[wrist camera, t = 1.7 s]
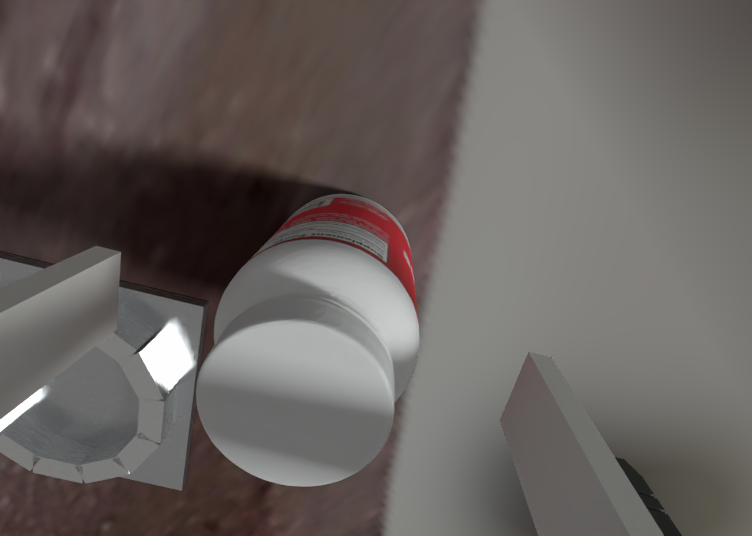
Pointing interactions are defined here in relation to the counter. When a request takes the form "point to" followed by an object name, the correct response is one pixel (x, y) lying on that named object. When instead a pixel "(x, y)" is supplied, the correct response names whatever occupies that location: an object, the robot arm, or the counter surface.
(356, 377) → the pill bottle
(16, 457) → the duct flange
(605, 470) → the robot arm
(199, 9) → the counter surface
